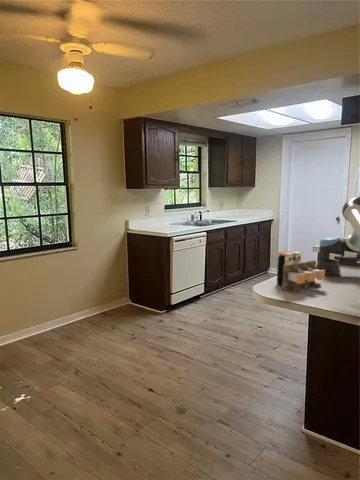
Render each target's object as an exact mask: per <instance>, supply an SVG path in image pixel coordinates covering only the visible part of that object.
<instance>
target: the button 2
mask: <svg viewBox="0 0 360 480" xmlns="http://www.w3.org/2000/svg"><path fill="white" fill-rule="evenodd" d="M308 271H309V272H313V271H314V272H315V279H316V280H318V281H321V280H325V279H326V278H325V277H326V275H325V270H318V269H313V268H308Z"/></svg>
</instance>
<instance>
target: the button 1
mask: <svg viewBox="0 0 360 480" xmlns="http://www.w3.org/2000/svg"><path fill="white" fill-rule="evenodd" d="M288 280H291V281H294V282H297V284H301V283H305V274H304V273H302V274H300V273H296V272H288Z"/></svg>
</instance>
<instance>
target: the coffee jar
mask: <svg viewBox="0 0 360 480" xmlns="http://www.w3.org/2000/svg"><path fill="white" fill-rule="evenodd" d="M293 252H294V251H284V250H283V251H279V252H278V254H277V255H278V257H277V273H276V274H277V275H276V282H277V283H278V285H279V286H282V281H283V265H285V253H293ZM290 272H291V271H290Z"/></svg>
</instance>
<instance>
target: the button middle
mask: <svg viewBox="0 0 360 480" xmlns="http://www.w3.org/2000/svg"><path fill="white" fill-rule="evenodd" d="M298 273H300V274H302V273H304V274H305V280H307V282H311V281H315V282H316V278H315V272H314V271H313V272H309V271H305V270H298Z"/></svg>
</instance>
